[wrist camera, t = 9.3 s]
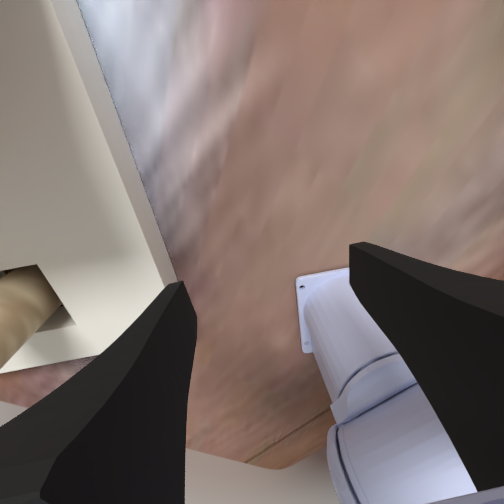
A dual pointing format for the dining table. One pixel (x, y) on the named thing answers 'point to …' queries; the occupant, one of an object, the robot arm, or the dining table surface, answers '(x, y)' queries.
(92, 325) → the station
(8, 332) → the peg
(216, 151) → the dining table surface
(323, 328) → the robot arm
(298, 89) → the dining table surface
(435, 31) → the dining table surface
